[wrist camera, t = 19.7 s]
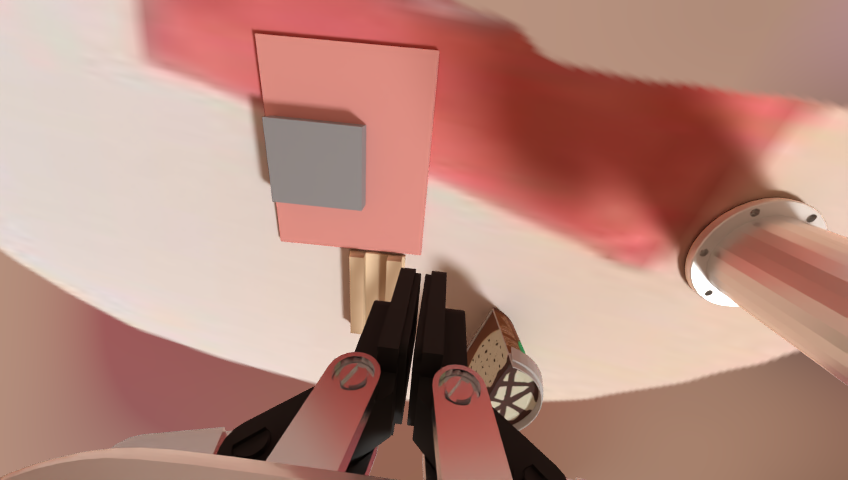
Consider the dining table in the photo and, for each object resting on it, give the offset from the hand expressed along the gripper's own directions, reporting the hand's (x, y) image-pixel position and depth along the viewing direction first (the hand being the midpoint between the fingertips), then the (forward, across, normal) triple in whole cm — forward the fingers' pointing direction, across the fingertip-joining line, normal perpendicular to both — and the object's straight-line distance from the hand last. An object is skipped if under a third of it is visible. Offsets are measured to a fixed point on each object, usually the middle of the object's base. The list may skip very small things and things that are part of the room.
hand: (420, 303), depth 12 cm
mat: (+22, +9, 0) cm, 24 cm away
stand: (+22, +6, +16) cm, 28 cm away
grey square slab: (+20, +12, -4) cm, 24 cm away
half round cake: (+23, -10, +22) cm, 33 cm away
